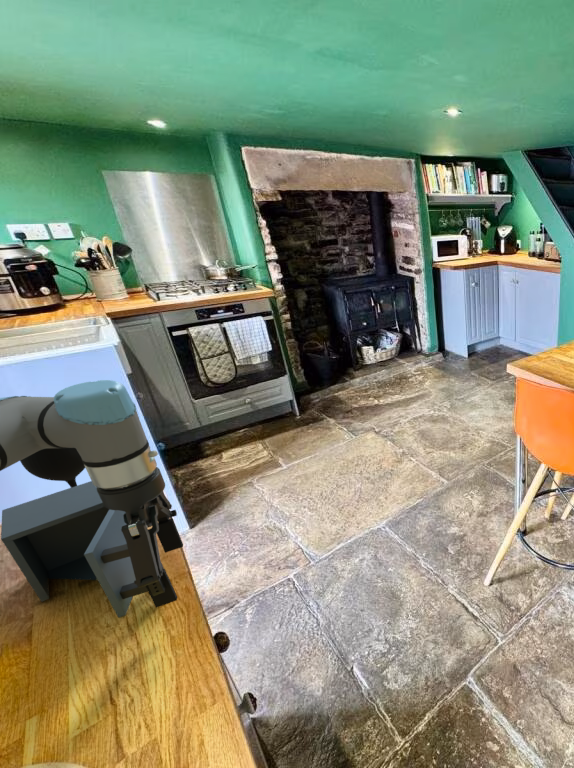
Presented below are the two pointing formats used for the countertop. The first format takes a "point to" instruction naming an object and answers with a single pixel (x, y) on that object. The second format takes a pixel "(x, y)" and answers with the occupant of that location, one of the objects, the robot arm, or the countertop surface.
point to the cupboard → (54, 535)
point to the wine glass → (55, 464)
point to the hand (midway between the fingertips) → (170, 573)
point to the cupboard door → (113, 563)
